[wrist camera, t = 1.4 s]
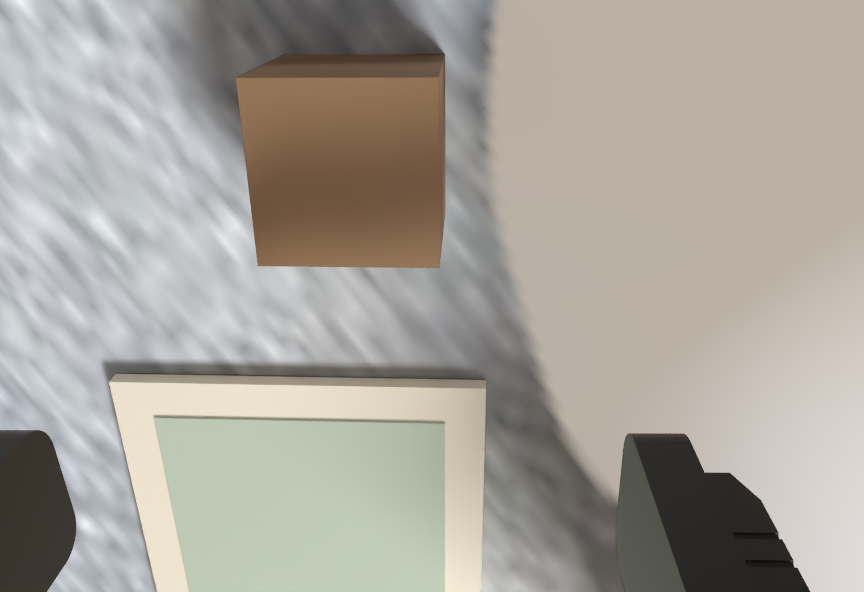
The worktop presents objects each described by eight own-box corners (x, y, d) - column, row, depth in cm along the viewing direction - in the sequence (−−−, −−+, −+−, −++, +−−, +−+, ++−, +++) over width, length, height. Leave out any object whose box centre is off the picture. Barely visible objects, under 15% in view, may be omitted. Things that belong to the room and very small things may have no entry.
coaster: (115, 373, 27) (107, 383, 27) (486, 380, 27) (486, 390, 26) (174, 635, 33) (168, 648, 33) (478, 646, 33) (479, 659, 32)
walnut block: (283, 54, 22) (235, 77, 18) (445, 54, 22) (438, 77, 17) (297, 209, 24) (257, 265, 20) (445, 210, 24) (439, 268, 20)
